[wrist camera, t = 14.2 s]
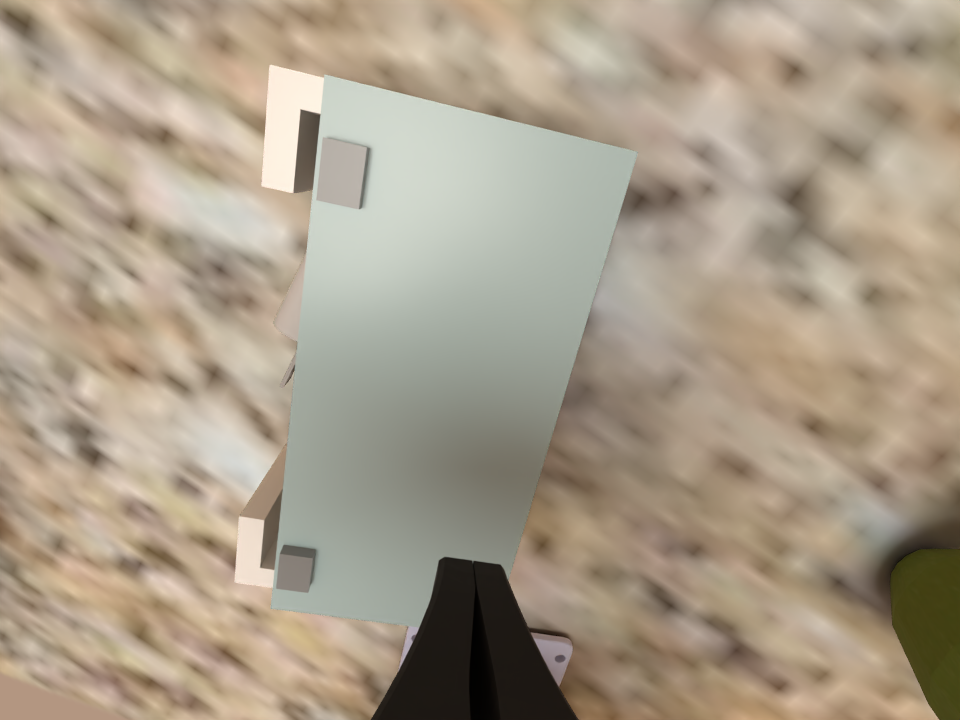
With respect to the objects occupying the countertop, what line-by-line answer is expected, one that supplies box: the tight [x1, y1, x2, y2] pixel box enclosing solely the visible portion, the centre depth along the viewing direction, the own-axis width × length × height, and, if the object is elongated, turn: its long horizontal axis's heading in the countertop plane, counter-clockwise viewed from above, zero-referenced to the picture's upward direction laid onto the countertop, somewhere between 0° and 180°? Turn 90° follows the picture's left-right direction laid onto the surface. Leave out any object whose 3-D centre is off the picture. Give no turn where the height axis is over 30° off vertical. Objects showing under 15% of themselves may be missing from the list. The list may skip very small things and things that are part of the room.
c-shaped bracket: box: [235, 65, 324, 588], centre depth 18 cm, size 16×9×5 cm, turn 168°
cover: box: [271, 75, 638, 627], centre depth 15 cm, size 16×8×1 cm, turn 168°
